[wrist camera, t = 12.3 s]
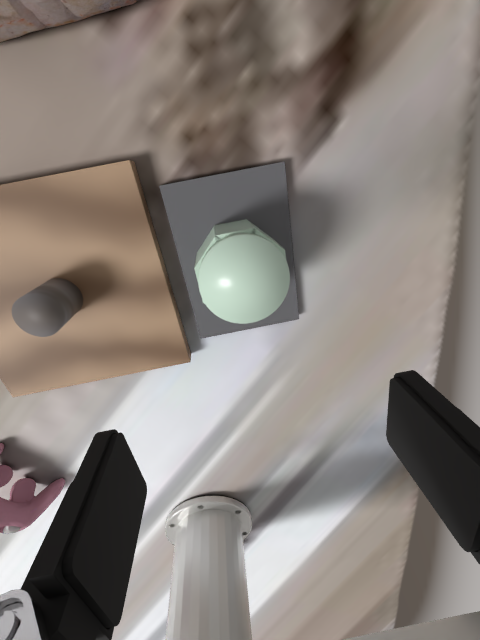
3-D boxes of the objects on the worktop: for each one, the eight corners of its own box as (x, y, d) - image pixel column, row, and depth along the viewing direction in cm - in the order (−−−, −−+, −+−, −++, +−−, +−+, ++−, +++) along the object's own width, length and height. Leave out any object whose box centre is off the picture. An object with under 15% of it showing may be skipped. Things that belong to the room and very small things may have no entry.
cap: (269, 214, 24) (286, 224, 19) (278, 288, 27) (295, 315, 22) (191, 229, 24) (185, 244, 19) (208, 301, 27) (208, 332, 22)
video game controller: (-12, 442, 35) (-73, 505, 30) (-1, 439, 32) (-66, 508, 27) (57, 481, 39) (13, 543, 34) (71, 481, 36) (26, 549, 31)
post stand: (191, 353, 30) (187, 387, 25) (21, 387, 30) (-16, 427, 25) (134, 161, 22) (112, 155, 17) (-97, 205, 22) (-184, 212, 17)
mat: (296, 315, 30) (299, 319, 29) (200, 334, 29) (200, 338, 29) (282, 161, 23) (284, 161, 23) (160, 185, 23) (159, 185, 23)
